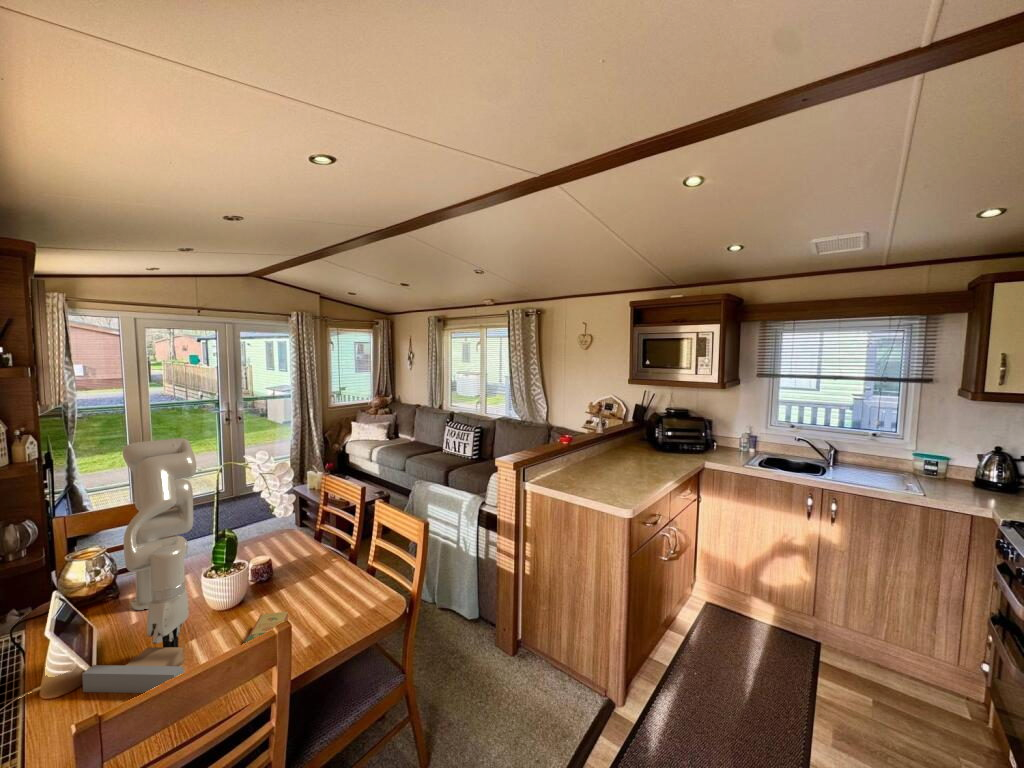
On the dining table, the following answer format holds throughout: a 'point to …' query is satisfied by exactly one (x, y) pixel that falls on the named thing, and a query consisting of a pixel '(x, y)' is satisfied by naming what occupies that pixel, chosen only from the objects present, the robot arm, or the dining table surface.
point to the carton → (267, 623)
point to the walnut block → (159, 657)
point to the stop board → (127, 678)
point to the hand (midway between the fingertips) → (170, 651)
